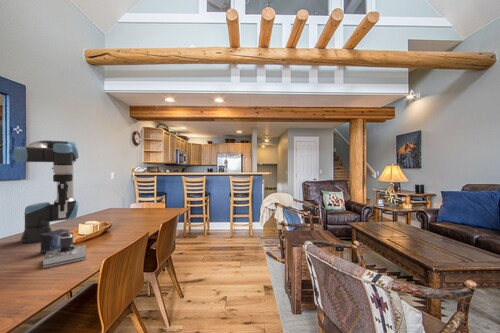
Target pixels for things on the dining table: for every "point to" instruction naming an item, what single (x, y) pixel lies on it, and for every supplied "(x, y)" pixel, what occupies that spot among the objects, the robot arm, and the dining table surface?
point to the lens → (66, 242)
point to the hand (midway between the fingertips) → (63, 215)
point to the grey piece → (64, 256)
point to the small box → (51, 240)
